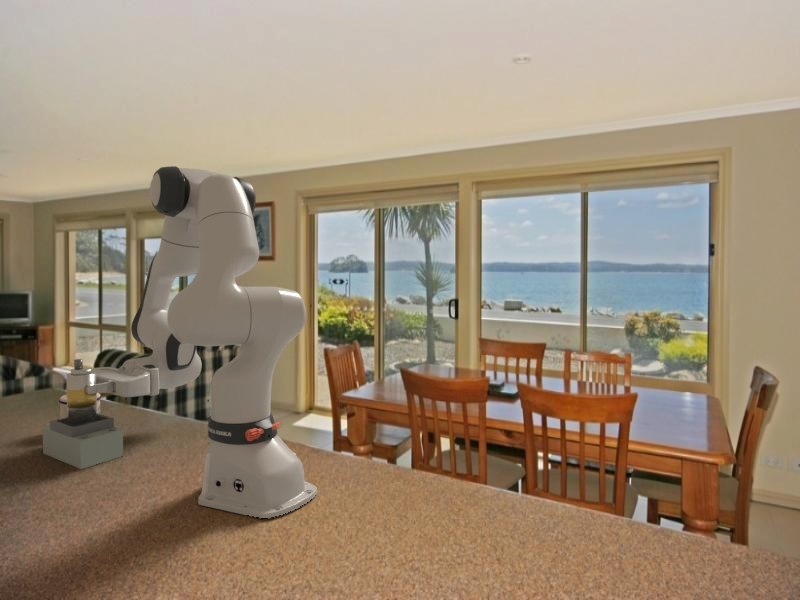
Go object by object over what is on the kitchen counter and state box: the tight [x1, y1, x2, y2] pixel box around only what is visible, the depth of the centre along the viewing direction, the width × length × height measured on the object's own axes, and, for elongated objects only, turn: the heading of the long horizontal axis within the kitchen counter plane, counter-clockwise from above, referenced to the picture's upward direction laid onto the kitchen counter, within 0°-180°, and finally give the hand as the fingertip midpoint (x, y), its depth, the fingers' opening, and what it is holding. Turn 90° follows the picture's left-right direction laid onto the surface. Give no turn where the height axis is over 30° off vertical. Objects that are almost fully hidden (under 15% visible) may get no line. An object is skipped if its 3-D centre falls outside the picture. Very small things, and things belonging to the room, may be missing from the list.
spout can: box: [66, 358, 97, 422], centre depth 117 cm, size 6×6×13 cm
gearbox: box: [42, 413, 124, 470], centre depth 118 cm, size 20×9×8 cm, turn 58°
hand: (77, 387), depth 116 cm, fingers closed on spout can, 6 cm apart
